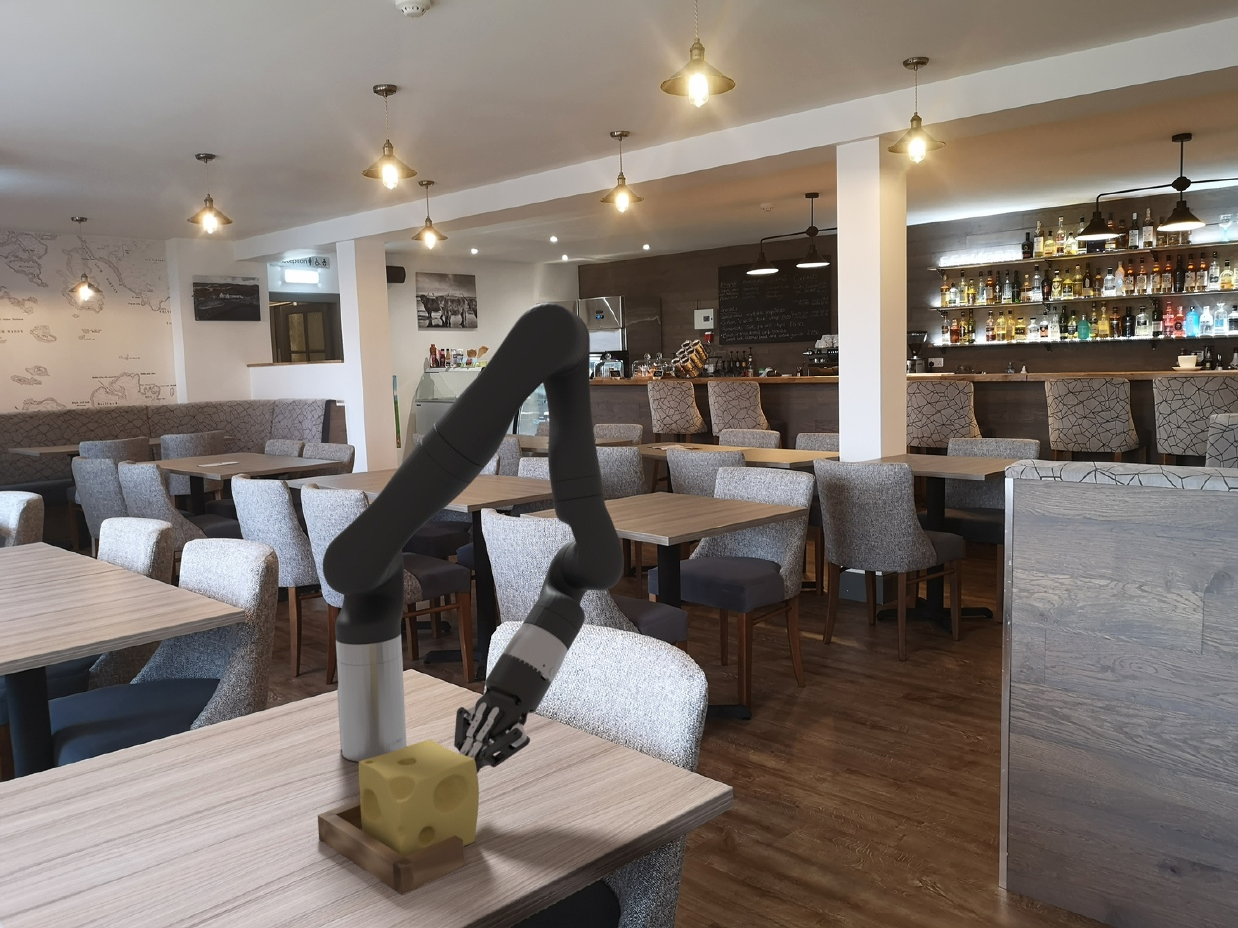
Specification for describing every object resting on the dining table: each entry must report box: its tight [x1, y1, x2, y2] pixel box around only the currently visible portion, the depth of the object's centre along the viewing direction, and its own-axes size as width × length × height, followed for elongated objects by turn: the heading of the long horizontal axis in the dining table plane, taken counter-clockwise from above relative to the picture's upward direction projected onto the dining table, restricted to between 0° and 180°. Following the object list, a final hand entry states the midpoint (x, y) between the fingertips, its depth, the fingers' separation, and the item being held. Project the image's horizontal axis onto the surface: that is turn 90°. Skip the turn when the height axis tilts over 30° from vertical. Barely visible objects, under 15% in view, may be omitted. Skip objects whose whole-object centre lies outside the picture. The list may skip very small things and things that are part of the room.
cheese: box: [358, 739, 480, 857], centre depth 109 cm, size 10×11×10 cm
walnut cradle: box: [317, 798, 465, 896], centre depth 107 cm, size 18×8×3 cm, turn 45°
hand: (454, 789), depth 113 cm, fingers closed
